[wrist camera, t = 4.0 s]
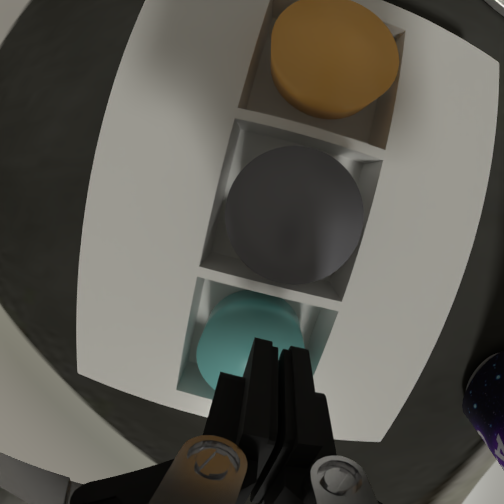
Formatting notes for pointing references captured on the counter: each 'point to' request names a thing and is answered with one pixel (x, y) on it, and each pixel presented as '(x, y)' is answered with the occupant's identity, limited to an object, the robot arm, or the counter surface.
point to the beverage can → (488, 403)
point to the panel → (225, 172)
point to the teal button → (244, 332)
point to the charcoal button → (294, 215)
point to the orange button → (331, 57)
